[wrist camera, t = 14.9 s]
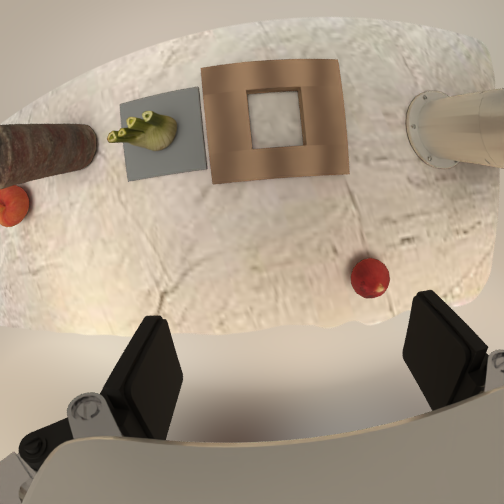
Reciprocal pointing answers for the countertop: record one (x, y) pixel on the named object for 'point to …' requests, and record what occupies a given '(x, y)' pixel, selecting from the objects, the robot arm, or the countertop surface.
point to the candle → (43, 151)
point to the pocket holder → (311, 111)
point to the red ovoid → (370, 278)
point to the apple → (13, 205)
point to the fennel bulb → (147, 131)
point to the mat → (184, 144)
